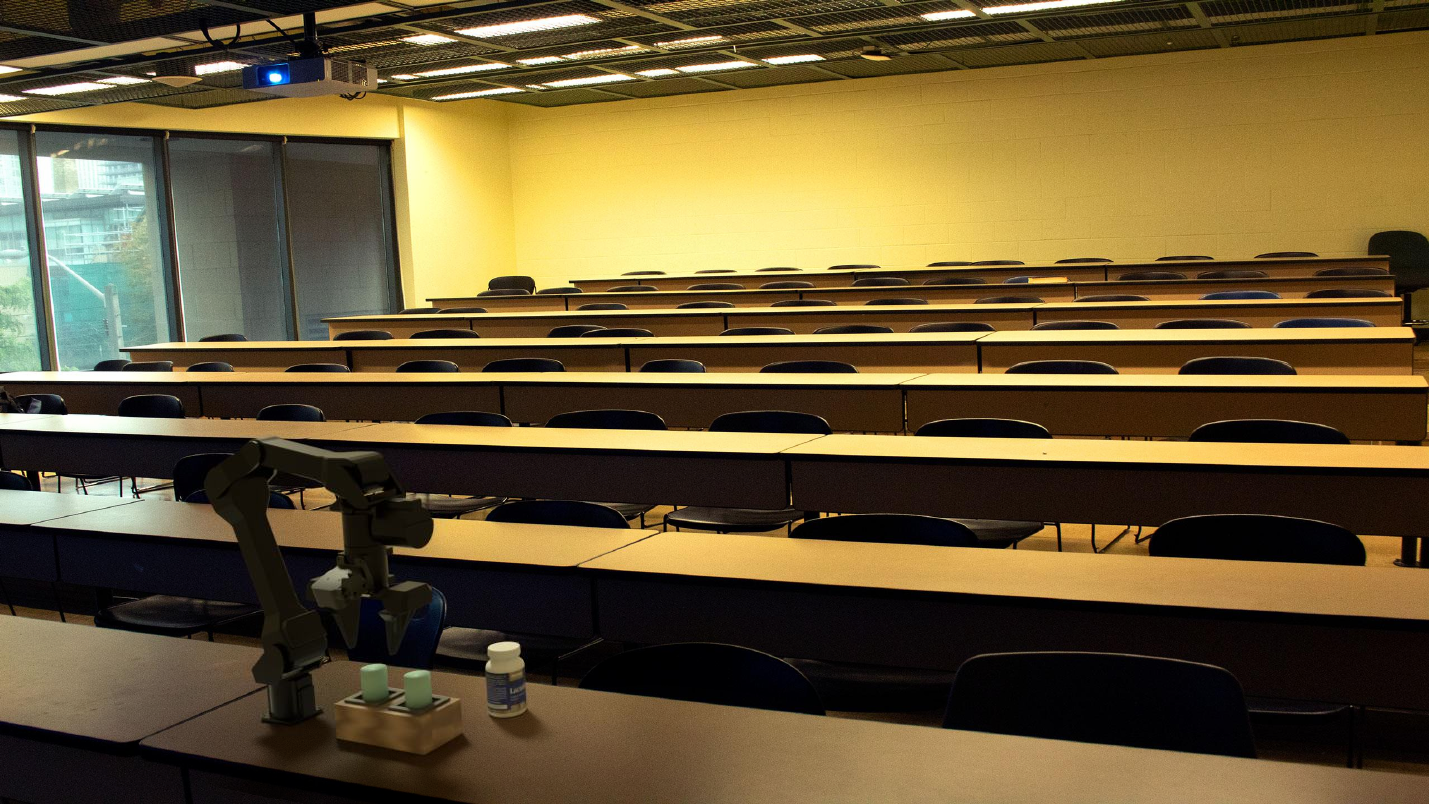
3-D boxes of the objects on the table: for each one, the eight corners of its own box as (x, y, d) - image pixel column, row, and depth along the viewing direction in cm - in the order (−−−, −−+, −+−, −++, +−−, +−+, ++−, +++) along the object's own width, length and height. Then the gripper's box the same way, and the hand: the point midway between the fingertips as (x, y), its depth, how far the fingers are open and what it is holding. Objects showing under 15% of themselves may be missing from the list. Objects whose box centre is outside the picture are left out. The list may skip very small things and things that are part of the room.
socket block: (336, 738, 159) (333, 701, 159) (377, 717, 166) (374, 682, 166) (424, 755, 152) (421, 716, 151) (462, 733, 159) (460, 696, 159)
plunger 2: (400, 713, 156) (397, 677, 156) (418, 704, 159) (415, 669, 159) (420, 717, 155) (418, 680, 154) (438, 708, 158) (435, 672, 157)
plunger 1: (357, 706, 160) (354, 670, 159) (375, 697, 163) (372, 662, 162) (376, 709, 158) (373, 673, 158) (394, 700, 161) (392, 665, 161)
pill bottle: (518, 719, 163) (514, 652, 162) (481, 718, 164) (477, 651, 163) (532, 704, 169) (528, 640, 168) (497, 703, 170) (492, 639, 169)
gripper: (271, 551, 155) (280, 661, 157) (374, 562, 147) (382, 678, 148) (332, 533, 165) (339, 637, 167) (431, 543, 157) (438, 652, 158)
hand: (372, 651), depth 160 cm, fingers open, 7 cm apart
